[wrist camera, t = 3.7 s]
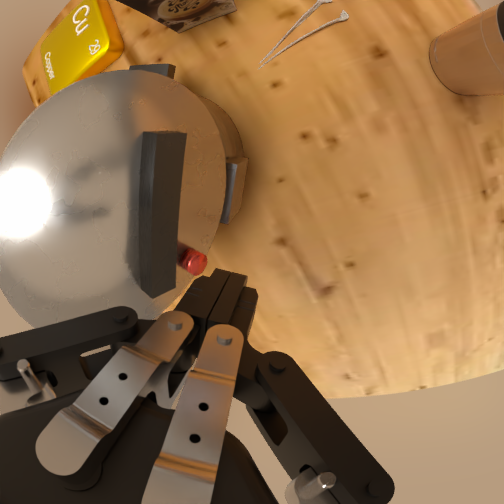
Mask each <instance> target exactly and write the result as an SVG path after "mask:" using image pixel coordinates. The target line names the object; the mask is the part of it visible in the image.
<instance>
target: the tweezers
mask: <svg viewBox="0 0 504 504" xmlns="http://www.w3.org/2000/svg"><path fill="white" fill-rule="evenodd" d="M328 2H332V0H317V2H316V4H315V5H314V6H315V7H314V6H313V7H314V9H313V7H312V8H310V9H309V10H308V11H307V12H306V13H305V14H304V15H303V16H302V17H301V18H300V19H299V20H298V21H297V22H296V23H295V25H294V26H293V27H292V28H291V29H290V30H289V31H288V32H287V34H286V35H285V36H284V37H283V38H282V39H281V40H280V41H279V42H278V43H277V44H276V46H275V47H274V48H273V49H272V50H271V51H270V52H269V53H268V54H267V55H266V57H265V58H264V59H266V58H267V57H268V56H269V55H270V54H271V53H272V52H273V51H274V50H275V49H276V48H277V47H278V45H279V44H280V43H281V42H282V41H283V40H284V39H285V38H286V37H287V36H288V35H289V34H290V33H291V32H292V31H293V30H294V29H295V28H296V27H297V26H299V25H300V24H301V23H302V22H303V21H304V20H305V19H306V18H308V17H309V16H310V15H311V14H312V13H313V12H314V11H315V10H316V9H317V8H318V7H319V6H320V5H321V4H323V3H328ZM348 18H349V15H348V14H347V13H346V12H345V11H344V10H342V13H341V16H340V18H337V19H335V20H333V21H331V22H328V23H326V24H324V25H322V26H320V27H319V28H317V29H315V30H313V31H312V32H310V33H308V34H306V35H304V36H303V37H301V38H299V39H297V40H296V41H294V42H293V43H291V44H290V45H288V46H287V47H285V48H284V49H282V50H281V51H280V52H278V53H277V54H276V55H274V56H273V57H272V58H270V59H269V60H268V61H267V62H266V63H268V62H269V61H271V60H272V59H273V58H274V57H276V56H277V55H279V54H280V53H281V52H283V51H284V50H286V49H287V48H289V47H290V46H292V45H294V44H295V43H297V42H298V41H300V40H302V39H303V38H305V37H307V36H309V35H310V34H312V33H314V32H316V31H318V30H320V29H322V28H324V27H326V26H328V25H331V24H333V23H336V22H339V21H344V20H346V19H348ZM264 59H263V60H264ZM263 60H262V61H263ZM262 61H261V62H262ZM261 62H260V63H261ZM260 63H259V64H260ZM266 63H264V64H263V65H262V66H264V65H265V64H266ZM262 66H261V67H262ZM261 67H260V68H261ZM260 68H259V69H260Z"/></svg>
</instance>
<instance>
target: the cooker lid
mask: <svg viewBox="0 0 504 504" xmlns="http://www.w3.org/2000/svg"><path fill="white" fill-rule="evenodd" d="M225 190H226V161H225V154H224V148H223V143H222V140H221V137H220V134H219V130H218V128H217V126H216V124H215V122H214V119H213V117H212V116H211V114H210V113H209V111H208V110H207V108H206V106H205V105H204V104H203V103H202V102H201V101H200V99H199V98H198V97H197V96H196V95H195V94H194V93H192V92H191V91H190V90H189V89H188V88H186V87H185V86H184V85H182V84H180V83H179V82H177V81H175V80H173V79H171V78H169V77H166V76H163V75H161V74H158V73H154V72H148V71H143V70H117V71H111V72H105V73H100V74H97V75H94V76H91V77H88V78H85V79H82V80H80V81H77V82H74V83H73V84H71V85H69V86H67V87H65V88H63V89H61V90H60V91H58V92H56V93H55V94H53V95H52V96H51V97H49V98H48V99H47V100H46V101H44V102H43V103H42V104H41V105H39V106H38V107H37V108H36V109H35V110H34V111H33V112H32V113H31V114H30V115H29V116H28V117H27V119H26V120H25V121H24V122H23V123H22V124H21V125H20V127H19V128H18V129H17V131H16V132H15V134H14V135H13V137H12V138H11V140H10V141H9V143H8V144H7V146H6V148H5V150H4V152H3V154H2V156H1V158H0V288H1V290H2V292H3V293H4V295H5V297H6V298H7V300H8V302H9V303H10V304H11V305H12V307H13V308H14V309H15V310H16V312H17V313H18V314H19V315H20V316H21V317H22V318H23V319H24V320H25V321H27V322H28V323H29V324H30V325H31V326H33V327H34V328H40V327H43V326H47V325H51V324H55V323H58V322H62V321H66V320H69V319H73V318H77V317H80V316H84V315H88V314H91V313H95V312H98V311H102V310H106V309H109V308H113V307H117V306H127V307H130V308H132V309H134V310H135V311H136V312H137V314H138V319H146V320H152V319H154V318H155V317H156V316H158V315H159V314H160V313H161V312H163V311H164V310H165V309H166V308H167V307H168V306H169V305H170V304H171V303H172V302H173V301H174V300H175V299H176V298H177V297H178V296H179V295H180V294H181V292H182V291H183V290H184V289H185V288H186V286H187V285H188V284H189V282H190V281H191V280H192V278H193V277H194V276H197V275H199V274H201V273H202V272H203V271H204V269H205V267H206V265H207V257H206V255H207V253H208V251H209V248H210V246H211V244H212V241H213V239H214V237H215V234H216V231H217V228H218V225H219V221H220V218H221V214H222V210H223V204H224V199H225Z"/></svg>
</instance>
